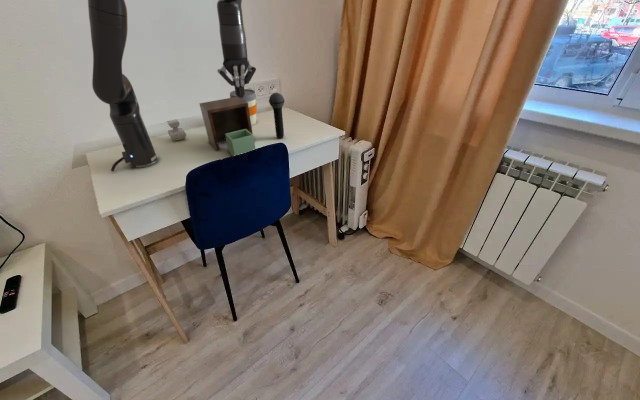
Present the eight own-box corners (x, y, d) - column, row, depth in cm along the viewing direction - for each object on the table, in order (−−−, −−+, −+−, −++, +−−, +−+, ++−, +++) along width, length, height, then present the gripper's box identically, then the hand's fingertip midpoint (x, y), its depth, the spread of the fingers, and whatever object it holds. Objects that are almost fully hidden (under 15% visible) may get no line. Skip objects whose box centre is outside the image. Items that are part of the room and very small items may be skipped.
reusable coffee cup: (248, 128, 138) (243, 97, 129) (229, 124, 143) (223, 93, 134) (264, 120, 147) (260, 91, 138) (246, 116, 152) (242, 87, 143)
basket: (235, 158, 113) (231, 140, 108) (228, 151, 118) (224, 133, 113) (256, 153, 117) (253, 135, 112) (248, 146, 122) (245, 128, 117)
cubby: (216, 150, 119) (206, 110, 108) (209, 141, 126) (199, 103, 116) (253, 141, 126) (247, 102, 116) (244, 133, 134) (238, 96, 123)
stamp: (188, 140, 127) (183, 122, 122) (173, 144, 124) (166, 125, 119) (184, 133, 133) (178, 116, 128) (169, 137, 131) (163, 119, 126)
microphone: (276, 141, 126) (271, 96, 114) (271, 136, 130) (265, 92, 118) (289, 138, 128) (286, 93, 116) (284, 133, 133) (280, 90, 121)
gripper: (248, 37, 92) (253, 91, 103) (208, 39, 86) (218, 96, 97) (258, 41, 88) (262, 97, 98) (216, 44, 81) (225, 103, 92)
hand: (240, 97), depth 98 cm, fingers closed
